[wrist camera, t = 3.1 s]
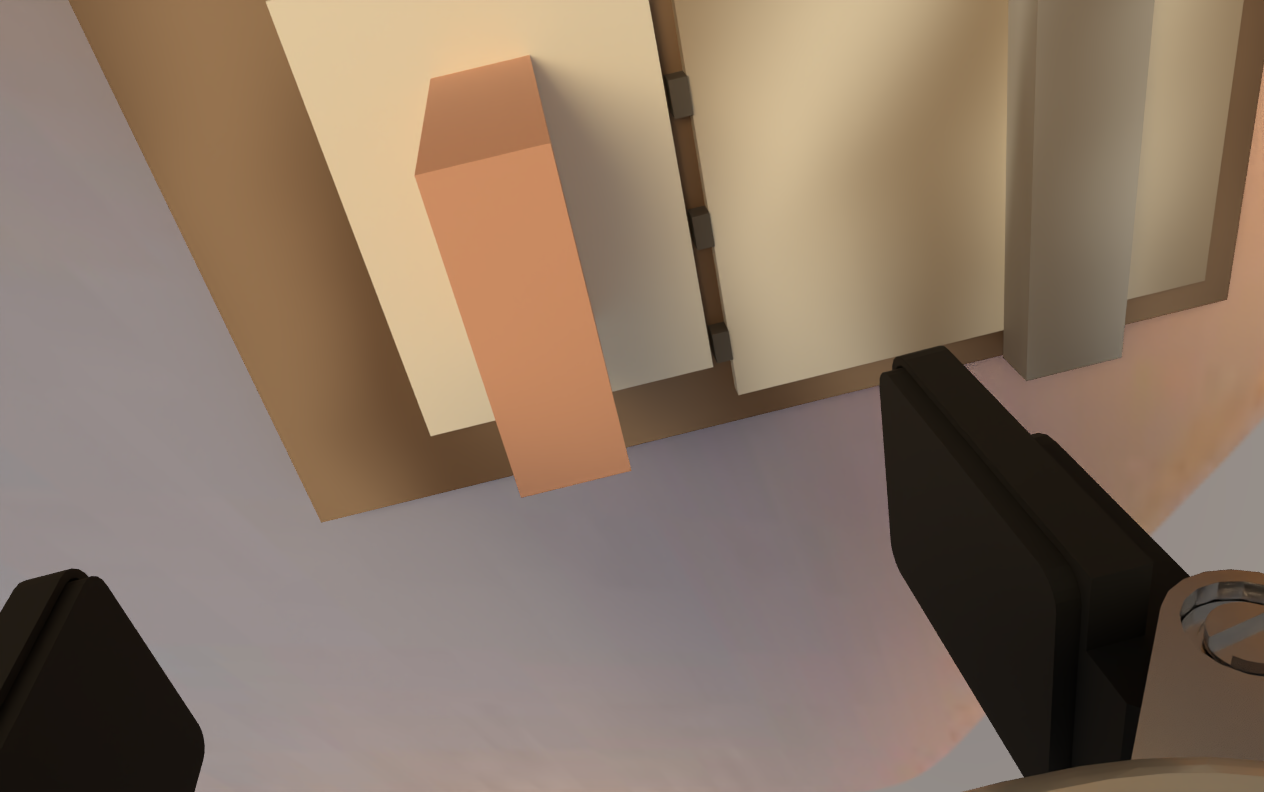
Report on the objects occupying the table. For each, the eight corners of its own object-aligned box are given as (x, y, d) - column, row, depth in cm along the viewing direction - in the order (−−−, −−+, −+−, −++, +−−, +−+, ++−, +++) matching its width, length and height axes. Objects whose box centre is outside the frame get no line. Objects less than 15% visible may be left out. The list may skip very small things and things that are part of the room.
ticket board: (1284, -369, 18) (1405, -397, 16) (1197, 280, 26) (1270, 327, 23) (57, -81, 18) (-6, -65, 16) (327, 494, 25) (312, 564, 23)
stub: (630, -88, 18) (697, -47, 13) (709, 358, 23) (780, 521, 18) (269, -2, 18) (181, 76, 13) (431, 427, 23) (418, 611, 18)
